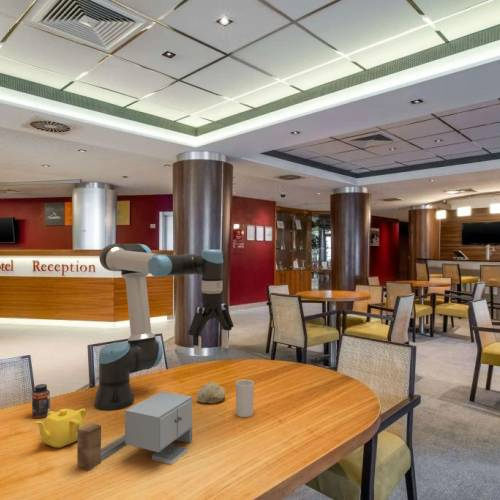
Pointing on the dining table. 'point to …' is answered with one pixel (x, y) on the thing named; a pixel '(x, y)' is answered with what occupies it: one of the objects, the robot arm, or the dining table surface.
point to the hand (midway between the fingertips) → (211, 351)
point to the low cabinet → (159, 421)
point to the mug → (244, 398)
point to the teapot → (61, 427)
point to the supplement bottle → (40, 401)
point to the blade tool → (94, 446)
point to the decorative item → (211, 393)
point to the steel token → (169, 454)
